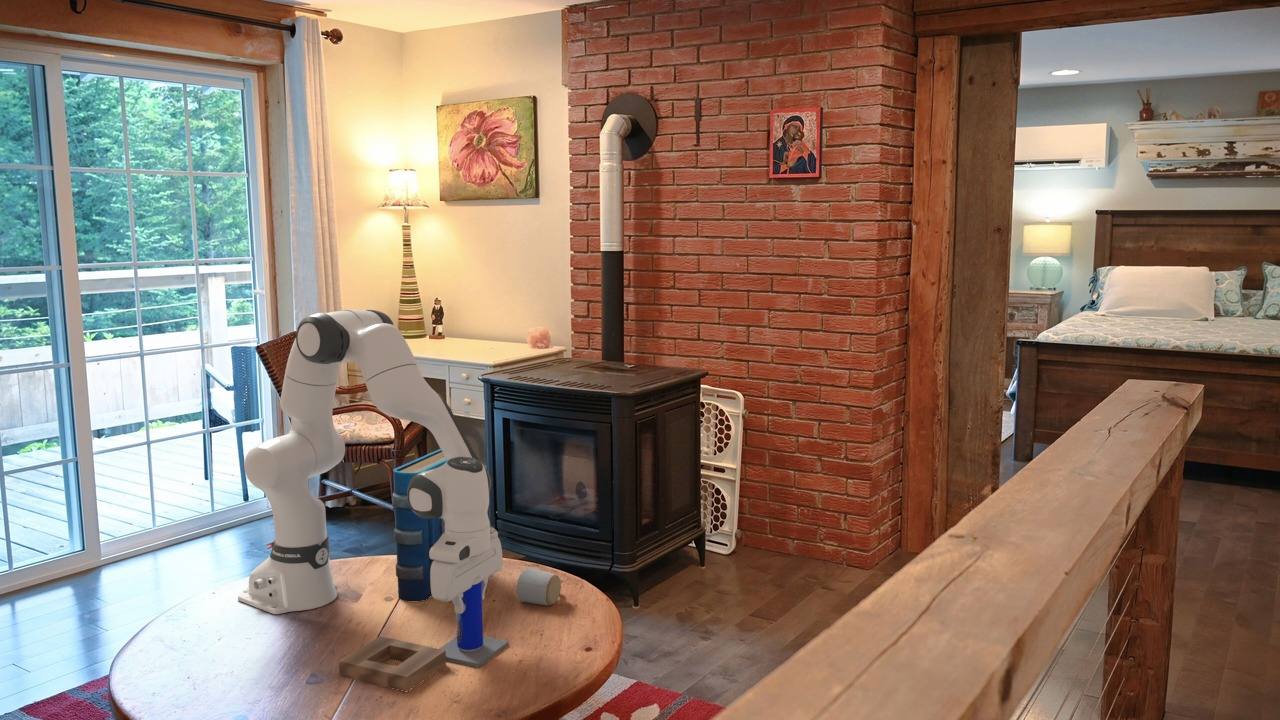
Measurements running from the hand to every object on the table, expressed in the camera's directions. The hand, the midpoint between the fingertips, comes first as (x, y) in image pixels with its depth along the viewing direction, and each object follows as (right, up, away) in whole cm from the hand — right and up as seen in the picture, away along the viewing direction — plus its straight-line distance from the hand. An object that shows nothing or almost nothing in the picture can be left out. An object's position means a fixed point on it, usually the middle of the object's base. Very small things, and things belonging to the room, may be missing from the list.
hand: (469, 606), depth 191 cm
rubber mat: (0, -9, +1) cm, 10 cm away
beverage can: (0, -9, +1) cm, 9 cm away
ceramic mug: (+11, -6, +27) cm, 30 cm away
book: (-15, -4, +37) cm, 40 cm away
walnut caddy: (-14, -11, -7) cm, 18 cm away
